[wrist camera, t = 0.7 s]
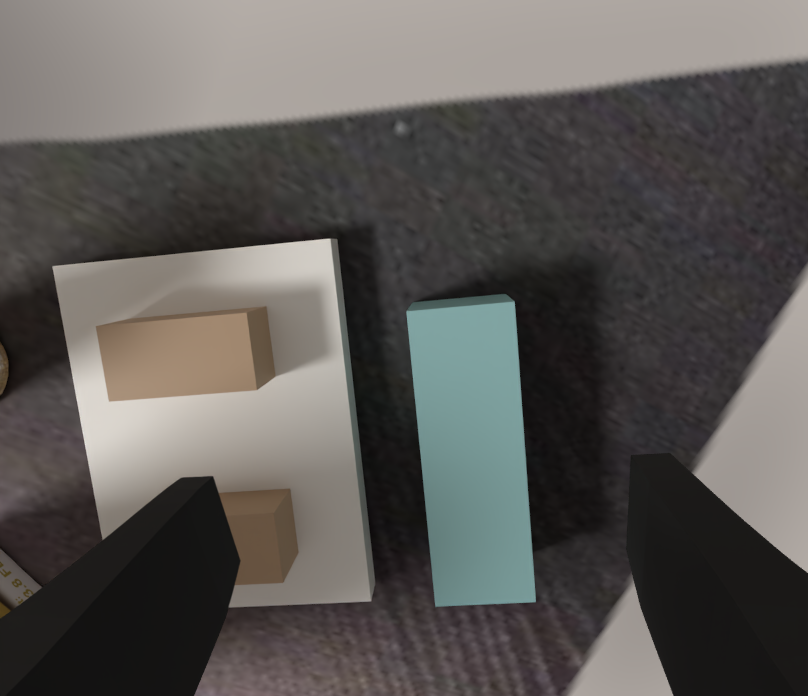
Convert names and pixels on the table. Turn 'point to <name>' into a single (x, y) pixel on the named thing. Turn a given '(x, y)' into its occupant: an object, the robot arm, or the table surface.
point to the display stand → (228, 405)
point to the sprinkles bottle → (3, 368)
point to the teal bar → (472, 449)
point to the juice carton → (14, 585)
